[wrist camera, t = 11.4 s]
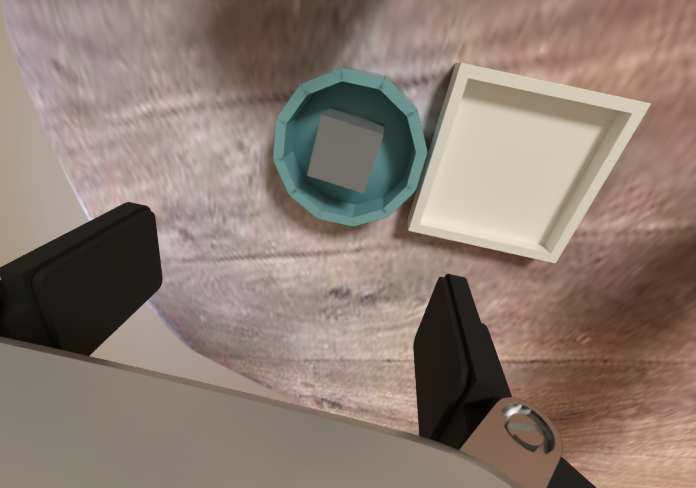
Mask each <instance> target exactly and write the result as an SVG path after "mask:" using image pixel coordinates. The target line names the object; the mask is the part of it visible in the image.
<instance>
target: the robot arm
mask: <svg viewBox="0 0 696 488" xmlns="http://www.w3.org/2000/svg"><path fill="white" fill-rule="evenodd" d="M0 277H1V280H0V488H596V487H595V486H594V485H593V484H592V483H590V482H589V481H588V480H587V479H586V478H585V477H584V476H583V475H581V474H580V473H579V472H578V471H577V470H576V469H575V468H574V467H572V466H571V465H570V464H569V463H568V462H567V461H566V460H565V459H563V458H562V457H561V455H562V450H563V444H562V440H561V436H560V434H559V432H558V431H557V429H556V427H555V425H554V424H553V423H552V422H551V420H550V419H549V418H548V417H547V416H546V415H545V414H544V413H543V412H542V411H540V410H539V409H538V408H536V407H535V406H533V405H532V404H530V403H528V402H526V401H524V400H521V399H518V398H512V395H511V392H510V390H509V387H508V384H507V381H506V378H505V375H504V373H503V370H502V367H501V364H500V361H499V359H498V356H497V353H496V350H495V347H494V344H493V342H492V339H491V336H490V333H489V330H488V328H487V326H486V325H485V324H483V323H481V321H480V318H479V315H478V312H477V309H476V306H475V303H474V300H473V297H472V294H471V291H470V288H469V285H468V282H467V279H466V278H464V277H460V276H456V275H451V274H446V276H445V277H439V279H438V281H437V283H436V286H435V288H434V291H433V293H432V296H431V298H430V301H429V303H428V306H427V308H426V311H425V313H424V316H423V318H422V321H421V323H420V326H419V328H418V331H417V333H416V336H415V339H414V346H413V349H414V364H415V379H416V394H417V408H418V423H419V436H417V435H414V434H411V433H407V432H404V431H400V430H396V429H392V428H388V427H384V426H380V425H377V424H373V423H369V422H365V421H361V420H357V419H353V418H349V417H345V416H341V415H337V414H333V413H329V412H325V411H321V410H316V409H312V408H308V407H304V406H300V405H295V404H291V403H287V402H283V401H279V400H274V399H270V398H266V397H262V396H258V395H254V394H250V393H245V392H241V391H237V390H232V389H228V388H224V387H220V386H215V385H211V384H207V383H203V382H199V381H194V380H190V379H186V378H181V377H177V376H173V375H168V374H164V373H160V372H155V371H151V370H147V369H143V368H138V367H134V366H129V365H125V364H120V363H117V362H112V361H108V360H103V359H99V358H95V357H90V355H91V354H92V353H93V352H94V351H95V350H96V349H97V348H98V347H99V346H100V345H101V344H102V343H103V342H104V341H105V340H106V339H107V338H108V337H109V336H110V335H111V334H113V333H114V332H115V331H116V330H117V329H118V328H119V327H120V326H121V325H122V324H123V323H124V322H125V321H126V320H127V319H128V318H129V317H130V316H131V315H132V314H133V313H135V312H136V311H137V310H138V309H139V308H140V307H141V306H142V305H143V304H144V303H145V302H146V301H147V300H148V299H149V298H150V297H151V296H152V295H153V294H154V293H155V292H156V291H158V289H159V288H160V287H161V284H162V270H161V261H160V253H159V244H158V236H157V228H156V219H155V214H154V213H153V212H151V210H150V208H149V207H148V206H145V205H140V204H136V203H131V202H127V203H124V204H122V205H120V206H118V207H116V208H114V209H112V210H110V211H109V212H107V213H105V214H103V215H101V216H99V217H97V218H95V219H93V220H91V221H89V222H87V223H85V224H83V225H81V226H80V227H77V228H76V229H74V230H72V231H70V232H68V233H66V234H64V235H62V236H60V237H58V238H57V239H54V240H52V241H50V242H48V243H47V244H45V245H43V246H41V247H39V248H37V249H35V250H33V251H31V252H29V253H27V254H25V255H23V256H21V257H19V258H17V259H15V260H14V261H12V262H10V263H8V264H6V265H4V266H2V267H0Z"/></svg>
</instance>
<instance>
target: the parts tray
mask: <svg viewBox="0 0 696 488" xmlns="http://www.w3.org/2000/svg"><path fill="white" fill-rule="evenodd" d="M650 105H651V104H650V103H646V102H641V101H636V100H632V99H627V98H622V97H618V96H613V95H608V94H604V93H599V92H595V91H590V90H585V89H581V88H576V87H571V86H567V85H562V84H557V83H553V82H548V81H543V80H539V79H534V78H529V77H525V76H520V75H515V74H511V73H506V72H502V71H497V70H492V69H488V68H483V67H478V66H474V65H469V64H464V63H455V66H454V69H453V73H452V76H451V79H450V83H449V86H448V89H447V92H446V96H445V99H444V102H443V105H442V109H441V112H440V115H439V118H438V122H437V125H436V128H435V131H434V135H433V138H432V141H431V144H430V148H429V151H428V154H427V158H426V161H425V164H424V167H423V171H422V174H421V177H420V180H419V184H418V187H417V190H416V193H415V197H414V200H413V203H412V206H411V210H410V213H409V216H408V219H407V221H408V231H412V232H417V233H421V234H426V235H430V236H435V237H439V238H444V239H448V240H453V241H457V242H462V243H466V244H471V245H475V246H480V247H484V248H489V249H493V250H498V251H502V252H507V253H511V254H516V255H520V256H525V257H529V258H534V259H539V260H543V261H548V262H552V263H556V262H557V260H558V258H559V257H560V255H561V253H562V252H563V250H564V248H565V247H566V245H567V243H568V242H569V240H570V238H571V237H572V235H573V233H574V232H575V230H576V228H577V227H578V225H579V223H580V222H581V220H582V218H583V217H584V215H585V213H586V212H587V210H588V208H589V207H590V205H591V203H592V202H593V200H594V198H595V197H596V195H597V193H598V192H599V190H600V188H601V187H602V185H603V183H604V182H605V180H606V178H607V177H608V175H609V173H610V172H611V170H612V168H613V167H614V165H615V163H616V162H617V160H618V158H619V156H620V155H621V153H622V151H623V150H624V148H625V146H626V145H627V143H628V141H629V140H630V138H631V136H632V135H633V133H634V131H635V130H636V128H637V126H638V125H639V123H640V121H641V120H642V118H643V116H644V115H645V113H646V111H647V110H648V108H649V106H650Z"/></svg>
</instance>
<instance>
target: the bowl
mask: <svg viewBox="0 0 696 488" xmlns="http://www.w3.org/2000/svg"><path fill="white" fill-rule="evenodd" d="M331 107H333V108H336V109H339V110H342V111H345V112H348V113H351V114H354V115H357V116H360V117H363V118H366V119H370V120H373V121H376V122H379V123H382V124H385V126H384V135H383V138H382V141H381V144H380V147H379V150H378V153H377V156H376V159H375V162H374V165H373V168H372V171H371V174H370V177H369V180H368V183H367V186H366V189H365V192H364V193H361V192H358V191H355V190H351V189H348V188H345V187H342V186H339V185H336V184H332V183H329V182H326V181H323V180H320V179H317V178H313V177H310V176H307V174H308V170H309V165H310V161H311V157H312V152H313V148H314V144H315V139H316V135H317V131H318V126H319V122H320V118H321V114H323V113H324V112H326V111H327V110H328V109H330V108H331ZM426 156H427V148H426V143H425V139H424V135H423V131H422V127H421V122H420V118H419V114H418V110H417V108H416V106H415V105H414V103H413V102H412V101H411V100H410V99H409V98H408V97H407V96H406V95H405V94H404V93H403V92H402V91H401V90H400V89H399V88H398V87H397V86H396V85H395V84H394V83H393V82H392V81H391V80H390V79H389V78H388V77H386V78H385V75H380V74H376V73H371V72H366V71H362V70H357V69H352V68H339V69H337V70H334V71H332V72H329V73H327V74H324V75H322V76H319V77H317V78H314V79H312V80H309V81H307V82H304V83H302V84H301V85H299V87H298V88H297V89H296V91H295V92H294V94H293V95H292V97H291V98H290V99H289V101H288V102H287V104H286V105H285V107H284V108H283V110H282V111H281V112H280V114H279V115H278V117H277V118H276V124H275V138H274V152H273V159H274V160H273V161H274V163H275V165H276V168H277V170H278V172H279V174H280V177H281V179H282V181H283V183H284V186H285V188H286V190H287V192H288V195H289V194H290V195H289V196H290V197H292V198H293V199H294V200H295V201H297V202H298V203H299V204H300V205H301V206H303V207H304V208H305V209H306V210H308V211H309V212H310V213H311V214H312V215H314V216H315V217H316V218H318V219H321V220H326V221H330V222H335V223H339V224H344V225H348V226H357V225H361V224H364V223H368V222H372V221H376V220H379V219H383V218H387V217H389V216H390V215H391V214H392V213H393V212H394V211H395V210H396V209H397V208H398V207H399V206H400V205H402V204H403V203H404V202H405V201H406V200H407V199H408V198H409V197H410V196H411V195H412V194H413V193H414V192H415V190H416V188H417V185H418V182H419V179H420V175H421V172H422V169H423V165H424V162H425V159H426Z"/></svg>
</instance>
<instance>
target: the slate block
mask: <svg viewBox="0 0 696 488" xmlns="http://www.w3.org/2000/svg"><path fill="white" fill-rule="evenodd" d="M384 126H385V124H382V123H379V122H376V121H373V120H370V119H366V118H363V117H360V116H357V115H354V114H351V113H348V112H345V111H342V110H339V109H336V108H333V107H331V108H330V109H328V110H327V111H326V112H324V113H323V114H321V118H320V122H319V126H318V131H317V135H316V139H315V144H314V148H313V152H312V157H311V161H310V165H309V170H308V174H307V176H310V177H313V178H317V179H320V180H323V181H326V182H329V183H332V184H336V185H339V186H342V187H345V188H348V189H351V190H355V191H358V192H361V193H364V192H365V189H366V186H367V183H368V180H369V177H370V174H371V171H372V168H373V165H374V162H375V159H376V156H377V153H378V150H379V147H380V144H381V141H382V138H383V135H384Z"/></svg>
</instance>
